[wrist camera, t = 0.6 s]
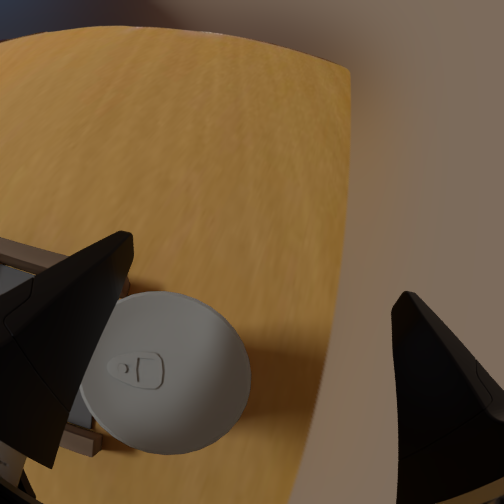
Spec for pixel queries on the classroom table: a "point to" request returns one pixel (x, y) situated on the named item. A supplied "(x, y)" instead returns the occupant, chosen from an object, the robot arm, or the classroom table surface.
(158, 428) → the canned food
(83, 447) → the cradle
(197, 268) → the classroom table surface
